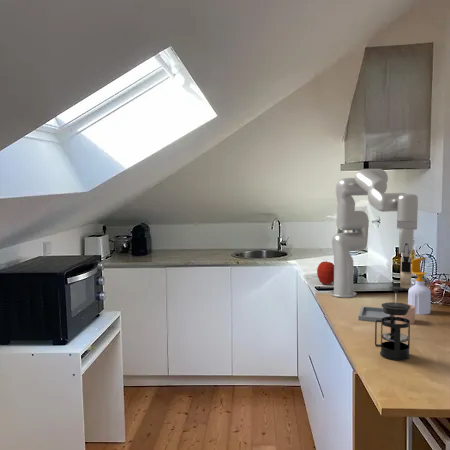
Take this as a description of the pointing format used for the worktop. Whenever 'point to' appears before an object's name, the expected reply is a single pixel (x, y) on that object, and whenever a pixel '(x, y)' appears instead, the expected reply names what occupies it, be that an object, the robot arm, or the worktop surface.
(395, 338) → the french press
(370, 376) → the worktop surface
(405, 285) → the dowel
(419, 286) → the soap bottle
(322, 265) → the apple
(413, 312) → the cup
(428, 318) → the worktop surface
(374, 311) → the tray
